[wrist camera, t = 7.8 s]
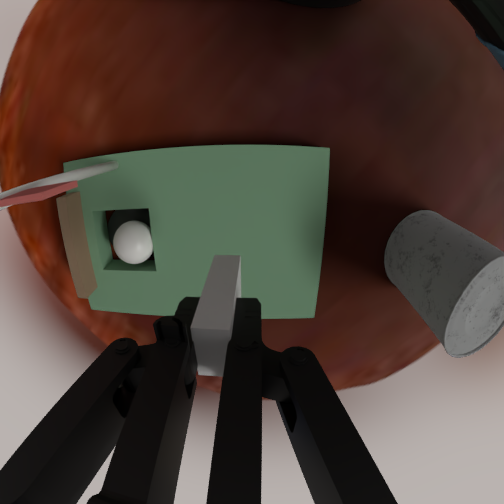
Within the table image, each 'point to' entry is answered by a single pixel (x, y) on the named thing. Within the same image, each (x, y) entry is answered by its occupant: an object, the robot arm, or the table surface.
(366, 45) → the table surface
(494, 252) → the grey can
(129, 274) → the green
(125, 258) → the ball
